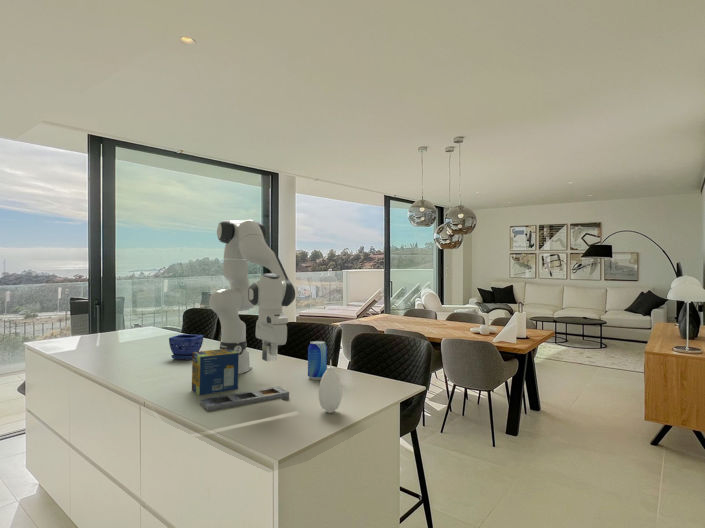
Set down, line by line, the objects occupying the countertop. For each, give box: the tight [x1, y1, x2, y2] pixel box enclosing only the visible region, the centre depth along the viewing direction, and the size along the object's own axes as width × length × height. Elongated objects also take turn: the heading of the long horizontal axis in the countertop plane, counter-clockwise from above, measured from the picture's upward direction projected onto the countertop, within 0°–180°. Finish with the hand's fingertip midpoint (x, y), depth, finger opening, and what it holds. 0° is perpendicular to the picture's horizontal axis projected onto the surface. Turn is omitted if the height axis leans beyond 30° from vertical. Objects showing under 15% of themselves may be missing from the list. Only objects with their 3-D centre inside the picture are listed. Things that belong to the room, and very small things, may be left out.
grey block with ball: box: [261, 343, 278, 362], centre depth 154 cm, size 4×4×6 cm
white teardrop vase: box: [318, 359, 343, 414], centre depth 140 cm, size 8×8×18 cm
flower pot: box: [168, 333, 204, 361], centre depth 220 cm, size 13×13×12 cm
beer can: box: [307, 340, 328, 381], centre depth 184 cm, size 8×8×16 cm
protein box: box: [191, 348, 239, 396], centre depth 162 cm, size 10×15×16 cm
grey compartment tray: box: [199, 385, 290, 412], centre depth 148 cm, size 9×30×2 cm, turn 126°
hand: (269, 353), depth 154 cm, fingers closed on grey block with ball, 4 cm apart
